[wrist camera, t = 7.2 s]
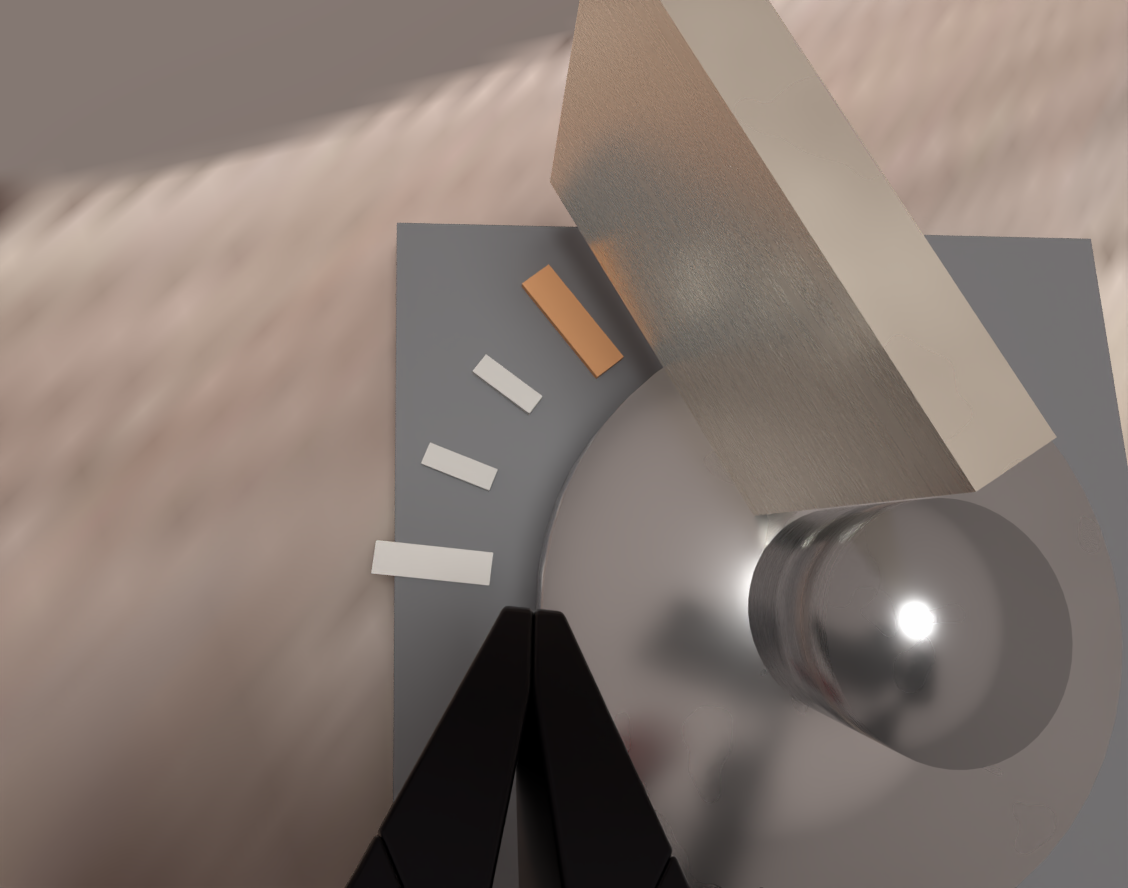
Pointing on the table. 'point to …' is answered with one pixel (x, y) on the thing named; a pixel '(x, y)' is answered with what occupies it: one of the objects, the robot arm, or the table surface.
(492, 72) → the table surface
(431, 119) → the table surface
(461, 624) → the panel
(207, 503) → the table surface
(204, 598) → the table surface
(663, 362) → the dial
